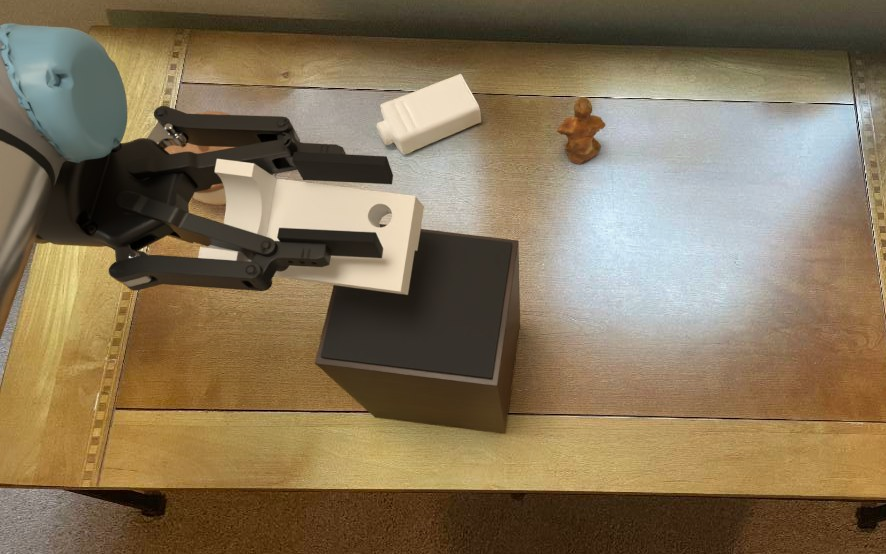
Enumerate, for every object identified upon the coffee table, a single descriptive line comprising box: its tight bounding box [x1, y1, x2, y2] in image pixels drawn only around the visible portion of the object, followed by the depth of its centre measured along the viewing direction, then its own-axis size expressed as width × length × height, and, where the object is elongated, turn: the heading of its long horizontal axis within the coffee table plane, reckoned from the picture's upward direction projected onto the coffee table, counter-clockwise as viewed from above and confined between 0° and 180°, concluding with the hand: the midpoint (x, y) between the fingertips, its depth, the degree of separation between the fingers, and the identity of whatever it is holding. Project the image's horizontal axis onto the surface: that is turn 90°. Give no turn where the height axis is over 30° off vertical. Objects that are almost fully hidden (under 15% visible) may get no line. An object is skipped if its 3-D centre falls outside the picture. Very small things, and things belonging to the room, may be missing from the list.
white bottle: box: [376, 73, 482, 155], centre depth 93 cm, size 6×13×4 cm, turn 117°
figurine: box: [556, 96, 606, 165], centre depth 89 cm, size 5×6×12 cm
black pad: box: [321, 227, 512, 379], centre depth 60 cm, size 12×14×1 cm
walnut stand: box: [314, 223, 521, 435], centre depth 72 cm, size 13×15×25 cm
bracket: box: [197, 159, 425, 295], centre depth 52 cm, size 13×7×8 cm, turn 82°
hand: (383, 207), depth 50 cm, fingers open, 5 cm apart
